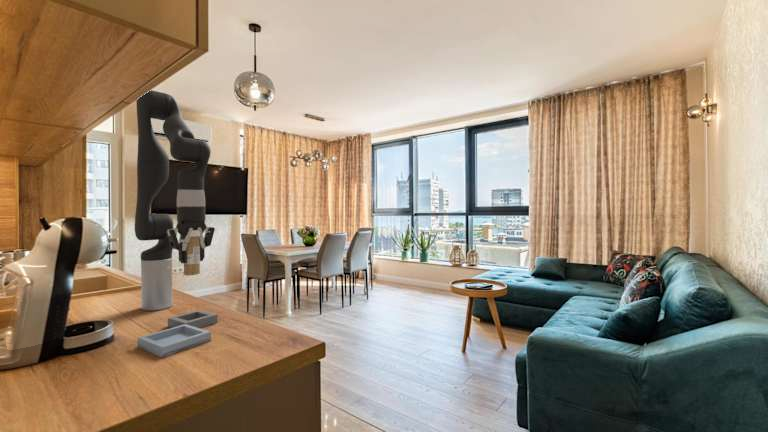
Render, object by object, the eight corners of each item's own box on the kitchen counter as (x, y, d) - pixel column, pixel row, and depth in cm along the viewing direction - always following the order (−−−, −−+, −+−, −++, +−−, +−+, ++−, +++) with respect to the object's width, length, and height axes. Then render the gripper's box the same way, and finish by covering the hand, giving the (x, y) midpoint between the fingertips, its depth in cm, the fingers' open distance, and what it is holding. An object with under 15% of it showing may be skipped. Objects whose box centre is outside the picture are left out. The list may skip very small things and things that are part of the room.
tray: (137, 347, 87) (137, 337, 87) (185, 332, 98) (185, 324, 98) (162, 357, 81) (162, 347, 81) (210, 340, 91) (210, 331, 91)
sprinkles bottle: (179, 275, 103) (179, 230, 103) (193, 272, 107) (192, 229, 107) (191, 276, 101) (190, 230, 101) (204, 273, 106) (203, 229, 105)
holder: (167, 326, 103) (167, 317, 103) (199, 317, 111) (199, 309, 111) (185, 332, 98) (185, 323, 98) (217, 322, 106) (217, 314, 106)
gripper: (206, 205, 112) (207, 258, 112) (159, 205, 99) (160, 264, 100) (220, 205, 108) (221, 260, 108) (173, 205, 96) (174, 266, 96)
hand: (191, 261), depth 104 cm, fingers closed on sprinkles bottle, 4 cm apart
